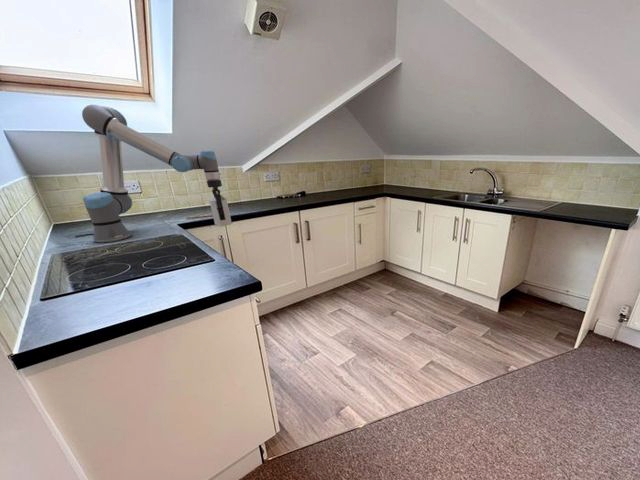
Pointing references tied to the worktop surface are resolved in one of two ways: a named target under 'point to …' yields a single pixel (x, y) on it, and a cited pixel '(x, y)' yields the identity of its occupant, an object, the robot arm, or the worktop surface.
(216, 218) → the milk carton
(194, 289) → the worktop surface
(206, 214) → the wooden spoon
